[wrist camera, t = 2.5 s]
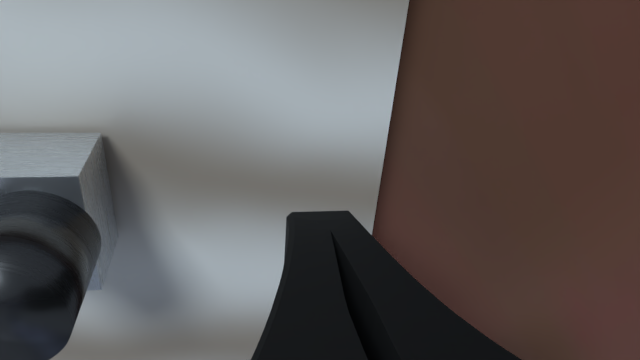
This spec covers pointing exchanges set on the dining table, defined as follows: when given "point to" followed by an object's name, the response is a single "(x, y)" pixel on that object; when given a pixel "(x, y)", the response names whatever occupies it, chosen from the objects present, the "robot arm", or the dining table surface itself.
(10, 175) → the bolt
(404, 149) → the dining table surface
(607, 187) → the dining table surface
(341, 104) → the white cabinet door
